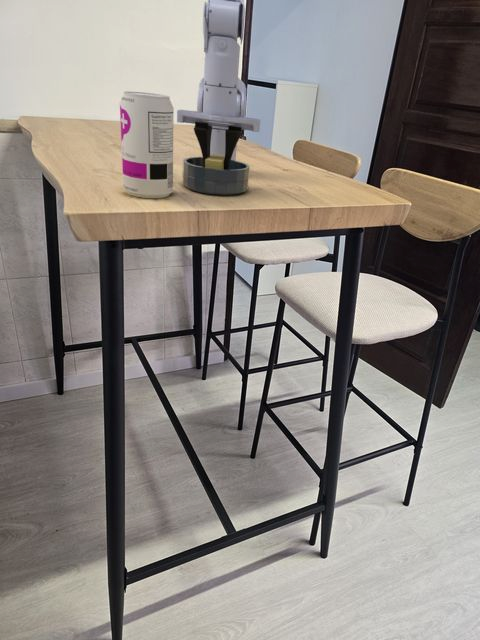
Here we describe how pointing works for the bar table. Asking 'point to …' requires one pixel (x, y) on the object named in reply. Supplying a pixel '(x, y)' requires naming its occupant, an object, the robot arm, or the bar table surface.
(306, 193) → the bar table surface
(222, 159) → the butter
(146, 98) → the supplement can
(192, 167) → the bowl
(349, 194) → the bar table surface
